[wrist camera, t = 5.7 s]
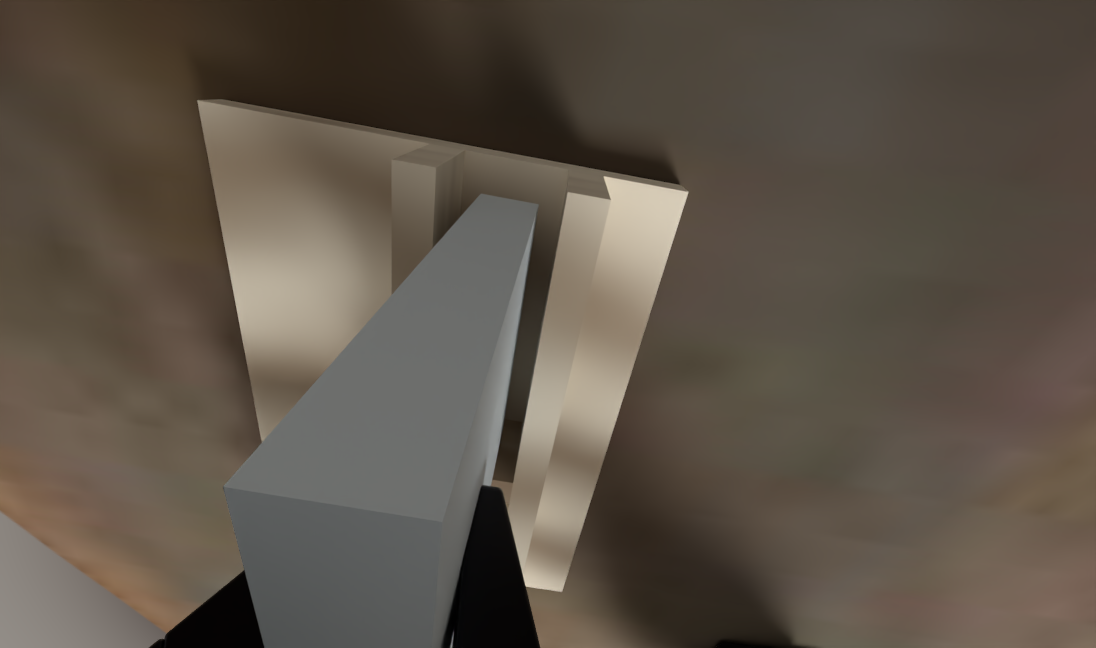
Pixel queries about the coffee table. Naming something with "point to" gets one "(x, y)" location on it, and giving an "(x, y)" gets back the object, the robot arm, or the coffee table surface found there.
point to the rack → (396, 250)
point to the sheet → (390, 453)
